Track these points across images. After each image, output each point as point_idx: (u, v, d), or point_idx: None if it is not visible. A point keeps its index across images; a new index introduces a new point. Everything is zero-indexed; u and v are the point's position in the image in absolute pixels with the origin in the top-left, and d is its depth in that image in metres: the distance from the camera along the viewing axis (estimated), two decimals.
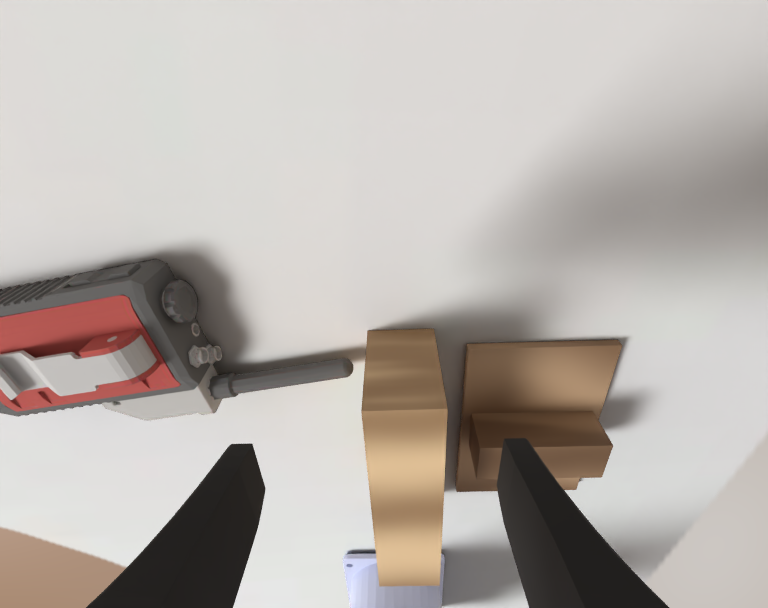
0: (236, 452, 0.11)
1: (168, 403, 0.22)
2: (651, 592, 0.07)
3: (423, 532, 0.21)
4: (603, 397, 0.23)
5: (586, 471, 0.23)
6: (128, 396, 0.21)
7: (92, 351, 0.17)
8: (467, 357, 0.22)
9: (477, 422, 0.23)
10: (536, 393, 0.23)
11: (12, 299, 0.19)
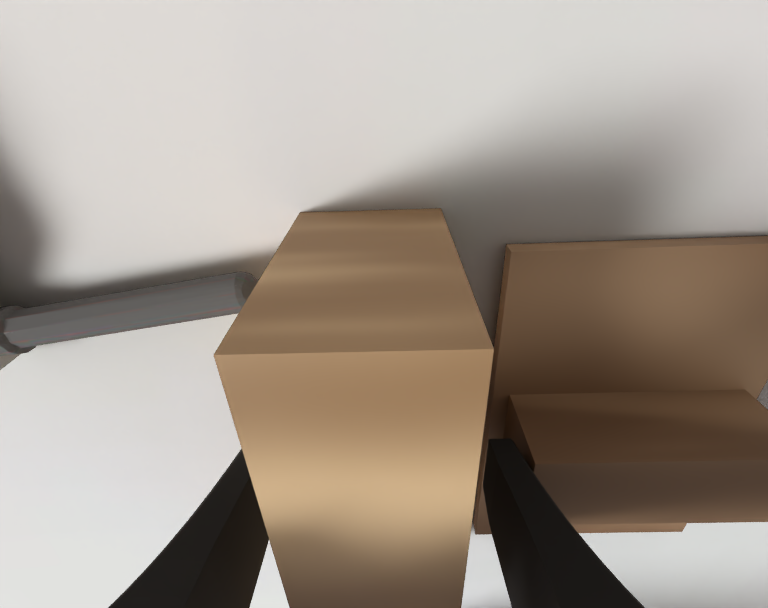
0: None
1: None
2: (627, 592, 0.07)
3: None
4: None
5: (748, 510, 0.11)
6: None
7: None
8: (507, 272, 0.10)
9: (522, 411, 0.12)
10: (641, 353, 0.12)
11: None
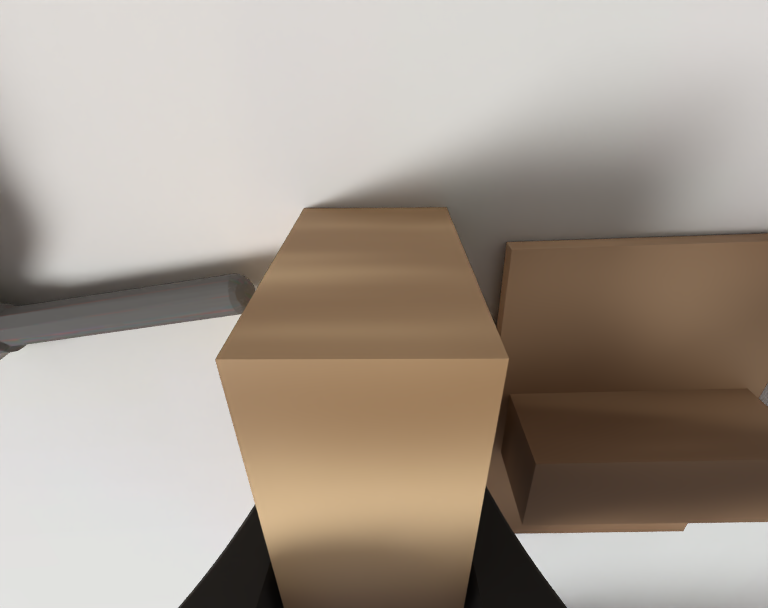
0: None
1: None
2: (552, 593, 0.07)
3: None
4: None
5: (750, 510, 0.11)
6: None
7: None
8: (508, 270, 0.10)
9: (523, 410, 0.12)
10: (643, 352, 0.11)
11: None
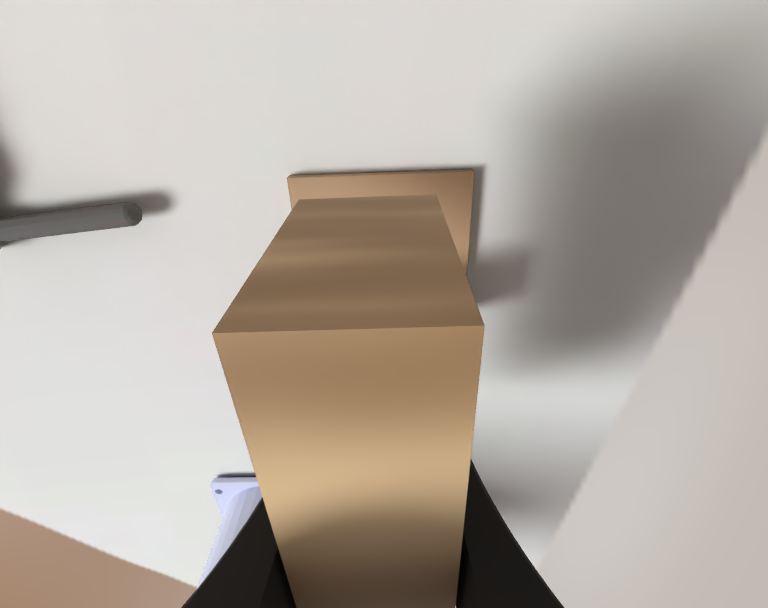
0: None
1: None
2: (549, 593, 0.07)
3: None
4: (465, 251, 0.19)
5: None
6: None
7: None
8: (289, 191, 0.18)
9: None
10: None
11: None
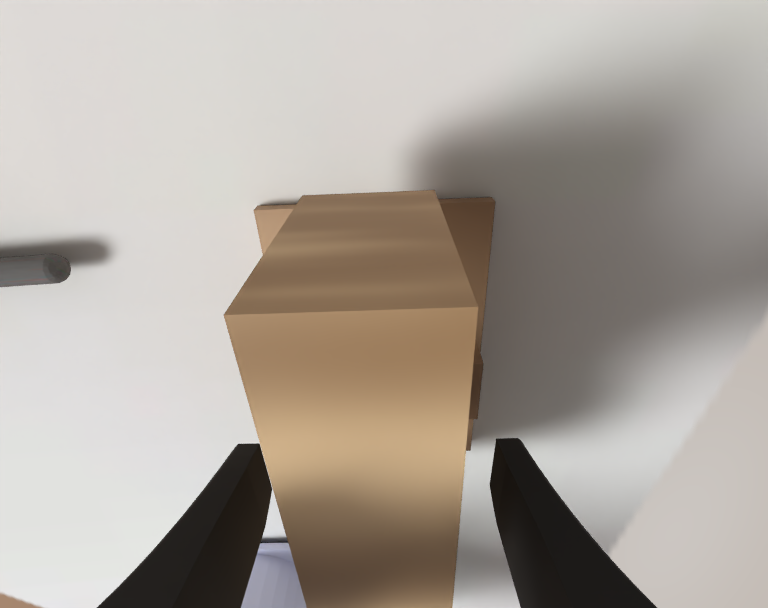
0: (244, 452, 0.11)
1: None
2: (639, 592, 0.07)
3: None
4: (482, 298, 0.15)
5: None
6: None
7: None
8: (258, 226, 0.14)
9: None
10: None
11: None
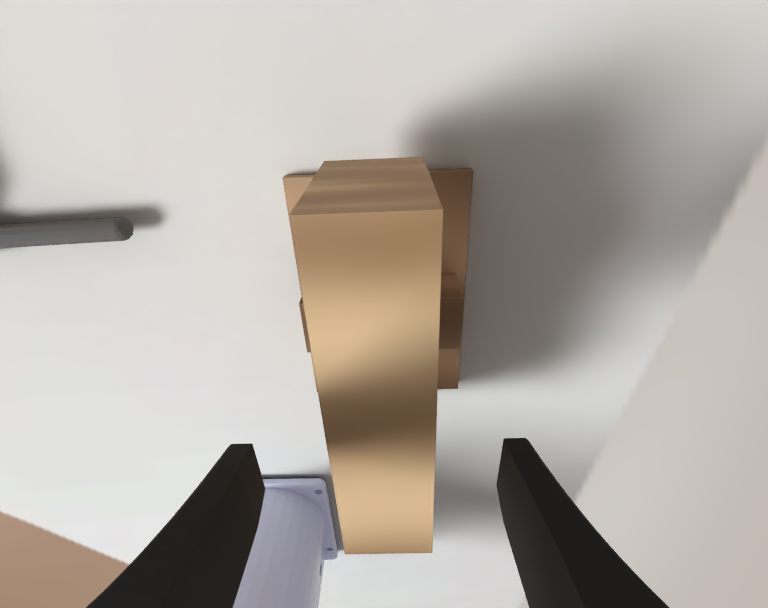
0: (237, 452, 0.11)
1: None
2: (651, 592, 0.07)
3: (406, 464, 0.14)
4: (464, 252, 0.19)
5: (439, 339, 0.18)
6: None
7: None
8: (285, 191, 0.18)
9: None
10: None
11: None
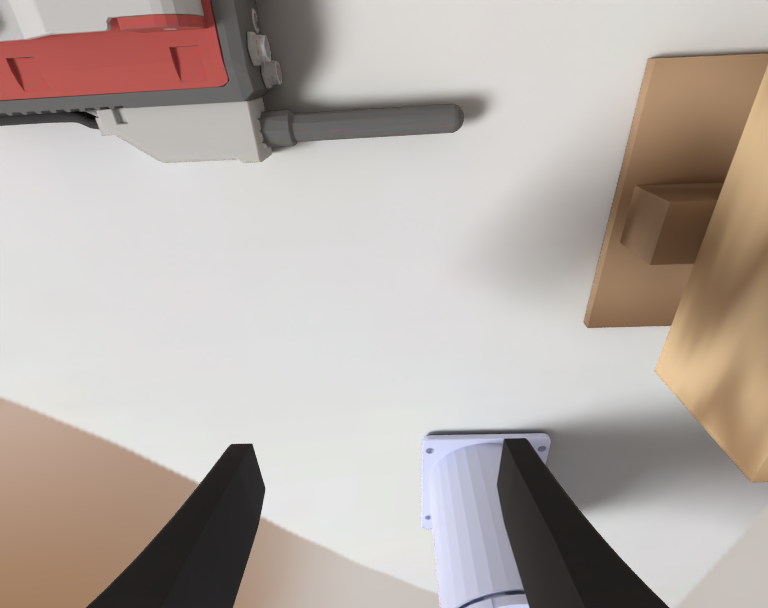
0: (237, 452, 0.11)
1: (198, 131, 0.15)
2: (651, 592, 0.07)
3: None
4: None
5: None
6: (144, 97, 0.14)
7: None
8: (648, 77, 0.16)
9: (648, 189, 0.17)
10: (732, 146, 0.17)
11: None
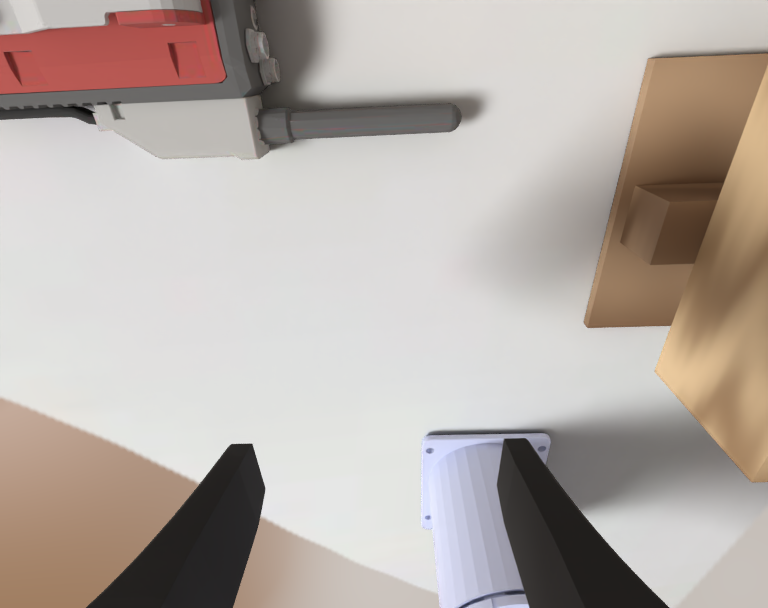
0: (237, 452, 0.11)
1: (196, 127, 0.15)
2: (651, 592, 0.07)
3: None
4: None
5: None
6: (142, 93, 0.14)
7: None
8: (648, 77, 0.16)
9: (648, 189, 0.17)
10: (732, 146, 0.17)
11: None
